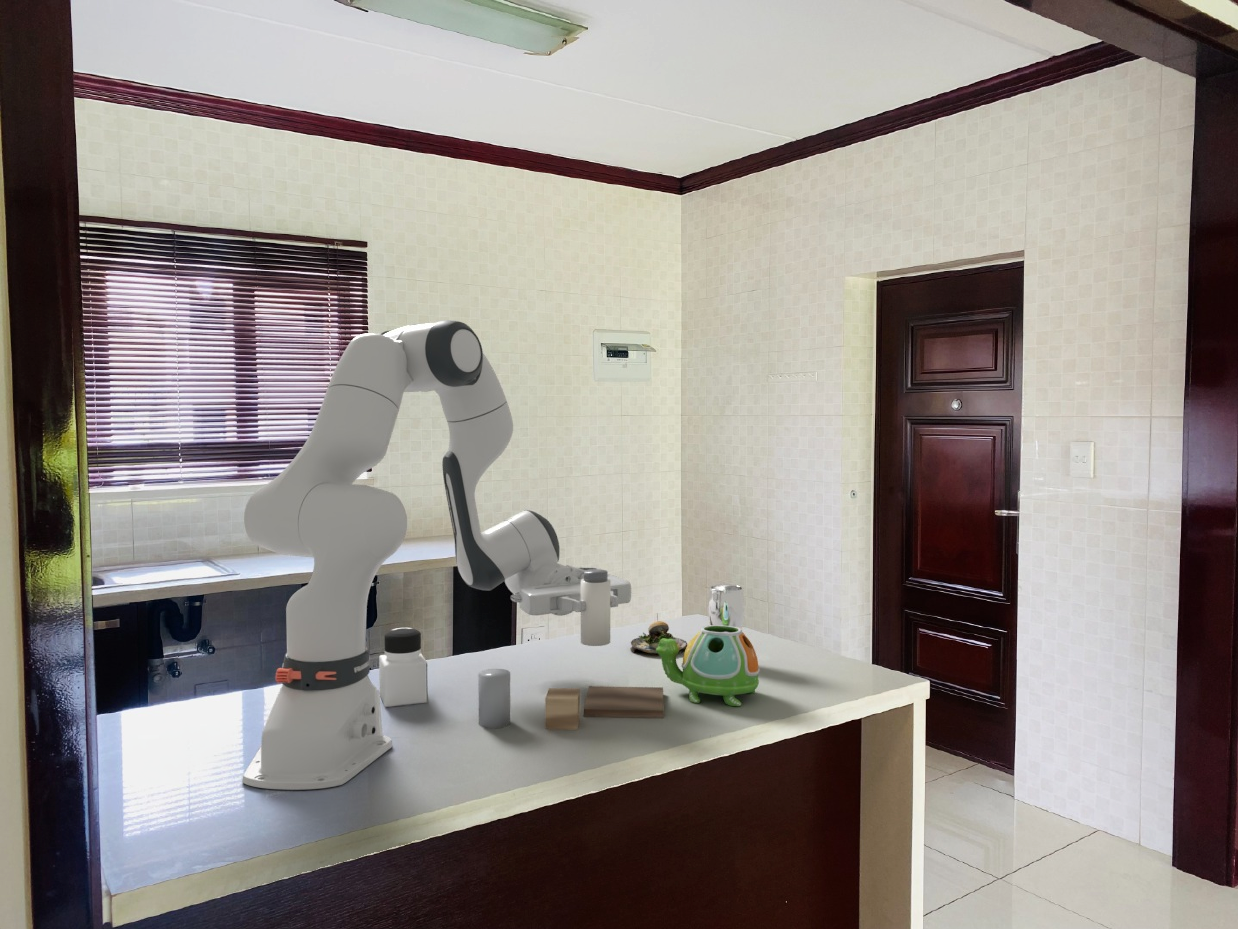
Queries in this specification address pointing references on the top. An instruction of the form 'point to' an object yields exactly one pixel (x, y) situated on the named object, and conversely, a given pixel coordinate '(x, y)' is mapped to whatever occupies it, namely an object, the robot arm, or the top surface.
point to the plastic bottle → (595, 608)
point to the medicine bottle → (403, 669)
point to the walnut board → (624, 702)
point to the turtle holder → (713, 663)
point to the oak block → (562, 709)
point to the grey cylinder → (494, 698)
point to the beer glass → (726, 605)
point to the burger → (655, 638)
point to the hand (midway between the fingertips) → (598, 604)
